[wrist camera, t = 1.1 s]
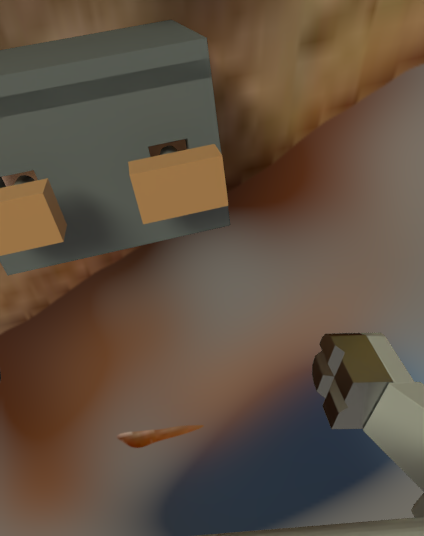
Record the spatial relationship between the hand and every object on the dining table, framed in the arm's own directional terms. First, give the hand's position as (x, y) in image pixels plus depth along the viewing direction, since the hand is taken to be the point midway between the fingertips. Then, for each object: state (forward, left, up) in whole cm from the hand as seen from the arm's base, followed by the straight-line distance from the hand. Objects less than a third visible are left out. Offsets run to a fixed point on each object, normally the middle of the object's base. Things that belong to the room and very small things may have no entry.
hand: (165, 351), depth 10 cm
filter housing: (-3, +1, -34) cm, 34 cm away
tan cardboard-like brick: (-7, +4, -19) cm, 21 cm away
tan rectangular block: (0, -3, -19) cm, 19 cm away
